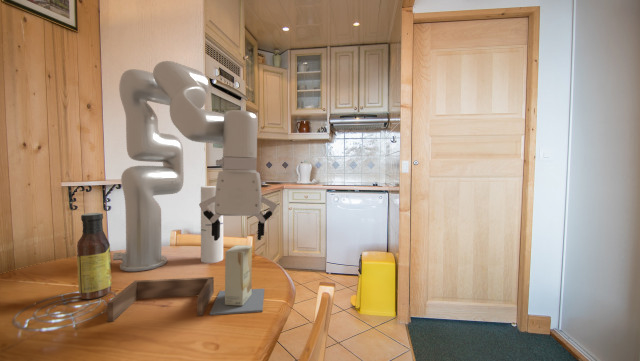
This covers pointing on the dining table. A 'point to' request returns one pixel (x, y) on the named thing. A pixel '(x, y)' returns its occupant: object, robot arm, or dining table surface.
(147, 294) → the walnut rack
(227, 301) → the skincare box
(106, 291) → the sauce bottle
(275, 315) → the dining table surface
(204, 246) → the cylindrical container
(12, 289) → the dining table surface
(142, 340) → the dining table surface
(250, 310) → the grey rubber mat
